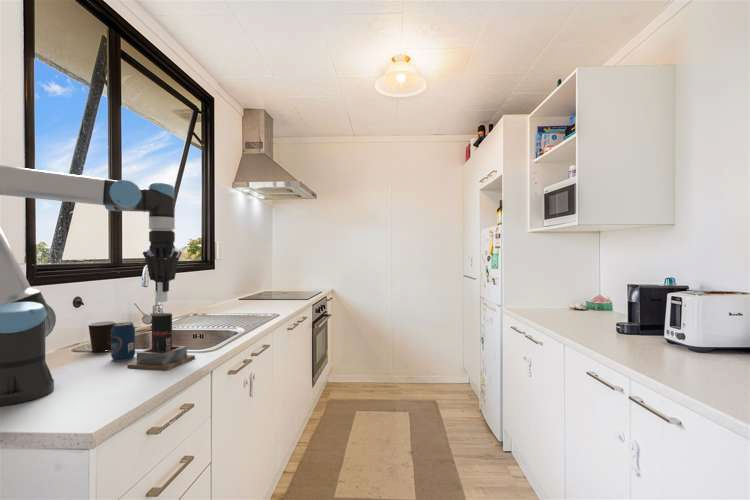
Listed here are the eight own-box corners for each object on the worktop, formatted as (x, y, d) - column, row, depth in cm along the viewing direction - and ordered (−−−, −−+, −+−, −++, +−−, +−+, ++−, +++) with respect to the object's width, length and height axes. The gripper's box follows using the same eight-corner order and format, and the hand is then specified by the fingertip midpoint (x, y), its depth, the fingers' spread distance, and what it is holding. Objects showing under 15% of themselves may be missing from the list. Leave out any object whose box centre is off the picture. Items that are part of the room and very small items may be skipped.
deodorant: (165, 362, 129) (165, 316, 129) (147, 362, 129) (147, 315, 129) (175, 357, 135) (175, 313, 135) (158, 357, 135) (158, 313, 135)
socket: (166, 370, 124) (166, 356, 124) (127, 367, 127) (127, 353, 127) (194, 358, 138) (194, 345, 138) (159, 356, 140) (159, 343, 140)
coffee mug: (102, 353, 144) (102, 326, 144) (82, 352, 146) (82, 325, 146) (128, 345, 155) (128, 320, 155) (109, 344, 157) (109, 319, 157)
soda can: (106, 360, 135) (106, 325, 135) (124, 355, 142) (124, 321, 142) (121, 362, 133) (121, 326, 133) (139, 356, 140) (139, 322, 139)
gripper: (187, 230, 134) (187, 300, 134) (153, 231, 137) (153, 299, 137) (171, 229, 127) (171, 303, 127) (136, 230, 129) (136, 302, 130)
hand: (162, 301), depth 132 cm, fingers closed
